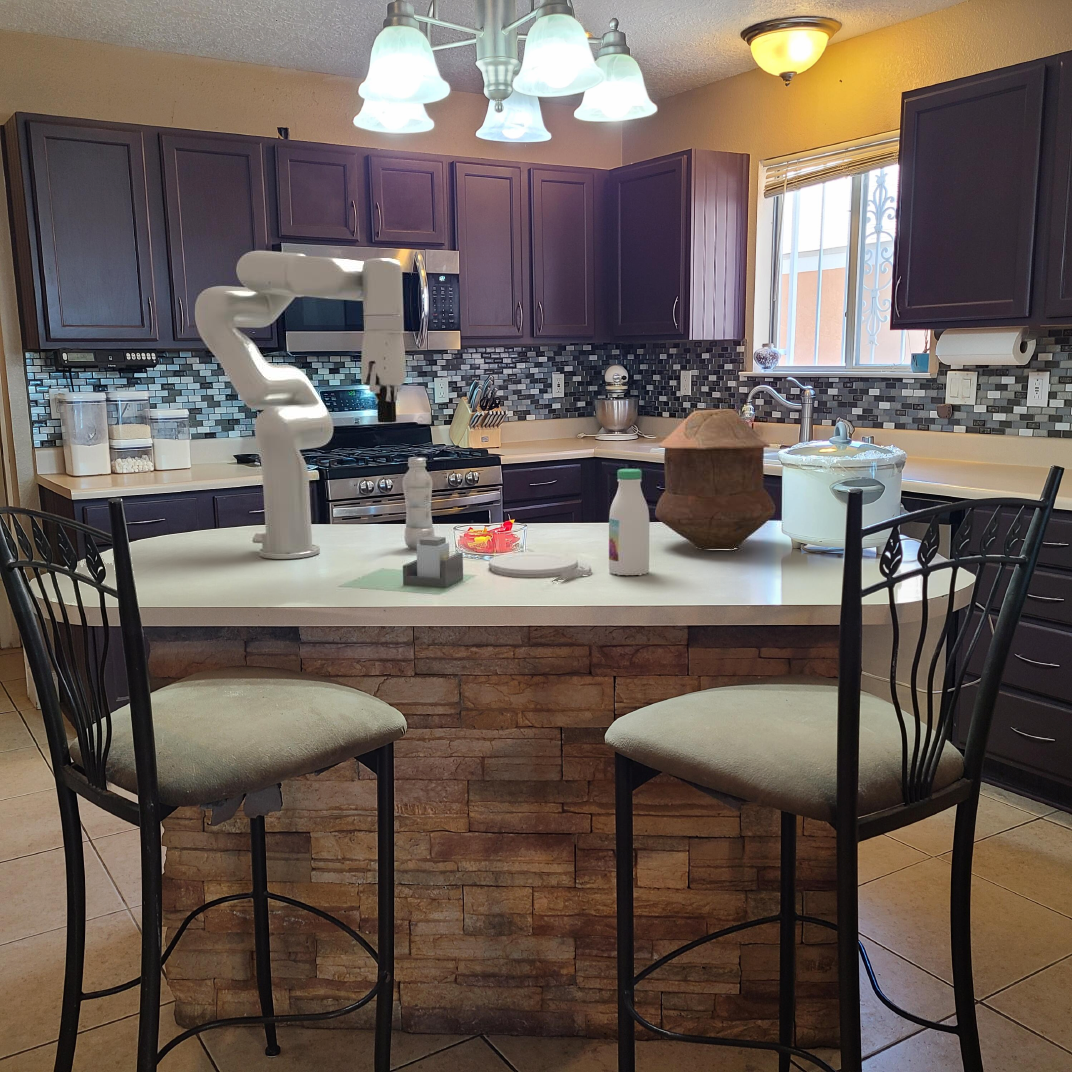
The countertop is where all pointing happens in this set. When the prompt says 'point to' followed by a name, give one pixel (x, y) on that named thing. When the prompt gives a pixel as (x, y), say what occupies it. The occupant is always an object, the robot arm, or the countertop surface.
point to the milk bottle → (629, 526)
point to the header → (449, 577)
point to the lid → (539, 565)
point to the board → (395, 582)
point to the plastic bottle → (417, 502)
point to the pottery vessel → (714, 480)
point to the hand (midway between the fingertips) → (387, 422)
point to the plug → (431, 556)
